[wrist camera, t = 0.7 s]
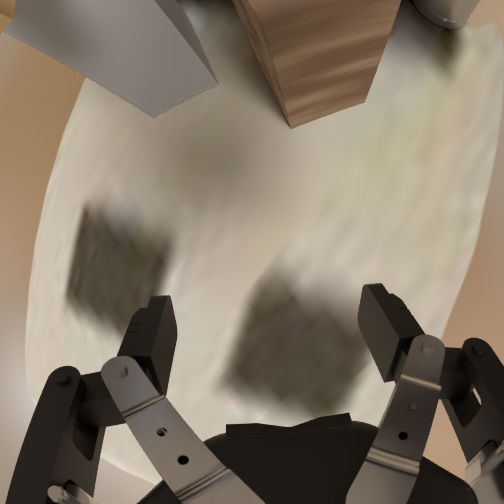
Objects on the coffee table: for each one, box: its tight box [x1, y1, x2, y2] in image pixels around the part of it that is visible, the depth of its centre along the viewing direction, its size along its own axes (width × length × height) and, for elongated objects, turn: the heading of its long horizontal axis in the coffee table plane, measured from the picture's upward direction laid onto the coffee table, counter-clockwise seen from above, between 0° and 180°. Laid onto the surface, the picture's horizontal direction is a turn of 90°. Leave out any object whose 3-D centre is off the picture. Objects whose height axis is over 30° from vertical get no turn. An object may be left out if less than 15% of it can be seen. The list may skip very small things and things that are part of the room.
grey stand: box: [2, 0, 218, 118], centre depth 22 cm, size 14×10×34 cm
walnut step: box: [232, 0, 401, 129], centre depth 25 cm, size 12×10×22 cm
